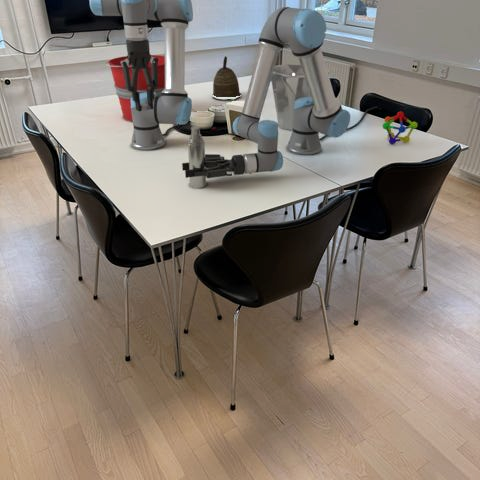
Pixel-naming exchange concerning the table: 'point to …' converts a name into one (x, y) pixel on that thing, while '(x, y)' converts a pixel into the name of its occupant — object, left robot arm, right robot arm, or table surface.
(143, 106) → the cap
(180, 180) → the table surface
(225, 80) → the bell
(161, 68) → the bucket
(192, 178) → the bottle
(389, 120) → the educational toy
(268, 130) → the right robot arm
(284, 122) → the bucket
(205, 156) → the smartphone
